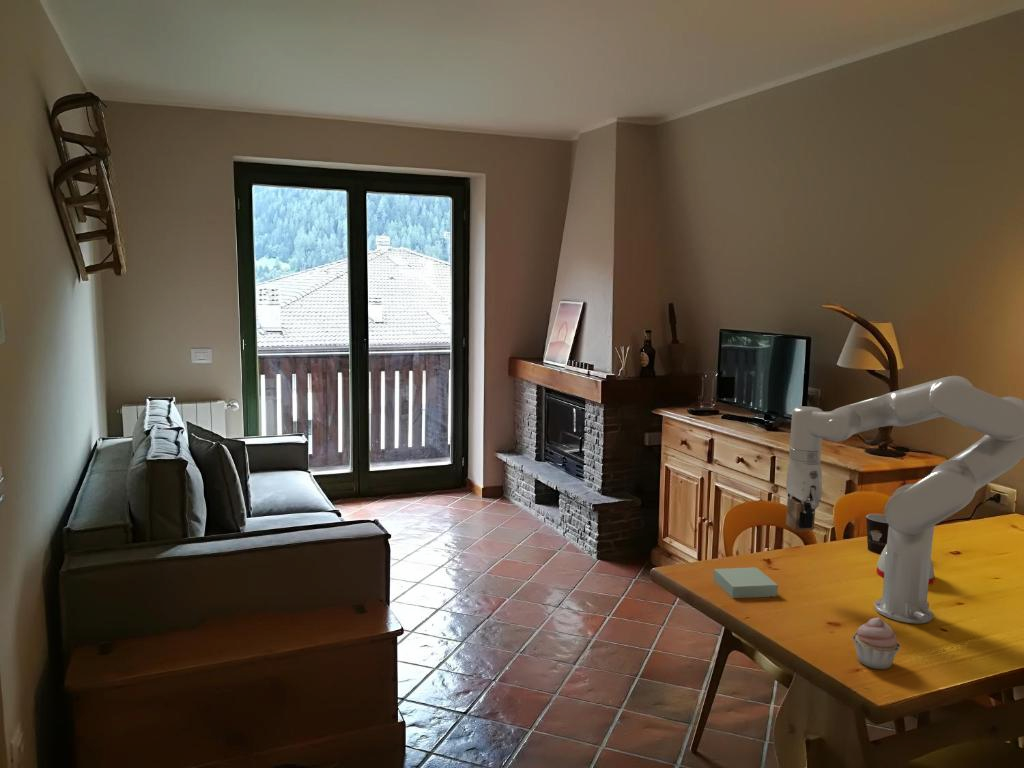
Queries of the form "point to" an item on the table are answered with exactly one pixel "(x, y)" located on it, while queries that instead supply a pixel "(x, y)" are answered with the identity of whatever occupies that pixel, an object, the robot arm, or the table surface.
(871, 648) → the cupcake
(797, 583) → the table surface
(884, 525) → the coffee mug
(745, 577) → the plate
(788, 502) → the walnut block
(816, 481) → the robot arm
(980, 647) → the table surface
